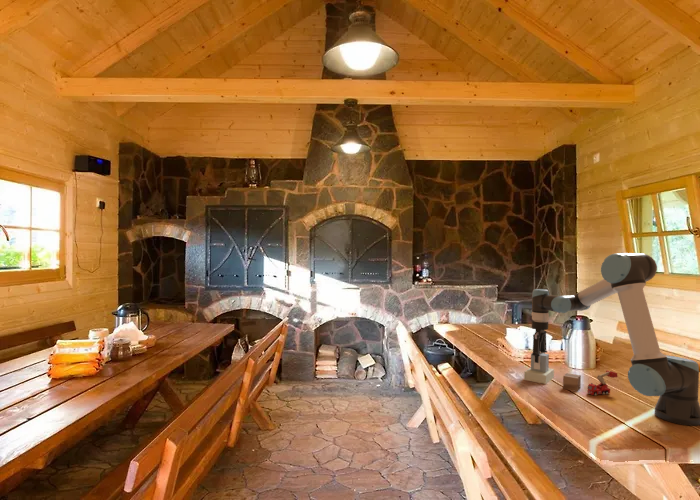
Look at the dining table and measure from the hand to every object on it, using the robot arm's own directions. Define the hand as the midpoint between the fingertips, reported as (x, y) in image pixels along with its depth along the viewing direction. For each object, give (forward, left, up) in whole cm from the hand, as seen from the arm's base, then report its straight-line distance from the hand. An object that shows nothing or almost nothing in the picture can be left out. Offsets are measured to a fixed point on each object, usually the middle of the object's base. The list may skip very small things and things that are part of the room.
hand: (539, 367), depth 220 cm
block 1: (0, 0, -1) cm, 1 cm away
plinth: (0, 0, -6) cm, 6 cm away
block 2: (-6, -16, -6) cm, 18 cm away
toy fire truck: (-5, -28, -6) cm, 29 cm away
